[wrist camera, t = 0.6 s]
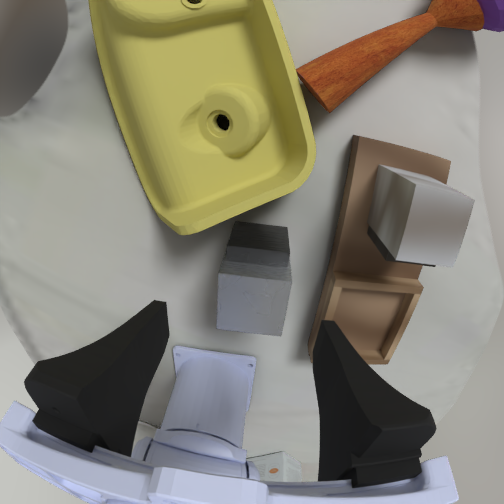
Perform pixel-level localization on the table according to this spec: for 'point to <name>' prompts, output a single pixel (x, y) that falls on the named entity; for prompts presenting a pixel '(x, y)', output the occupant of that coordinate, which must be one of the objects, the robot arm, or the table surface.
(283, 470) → the small box
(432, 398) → the table surface
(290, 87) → the plastic component
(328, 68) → the kendama
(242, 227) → the grey metal block
